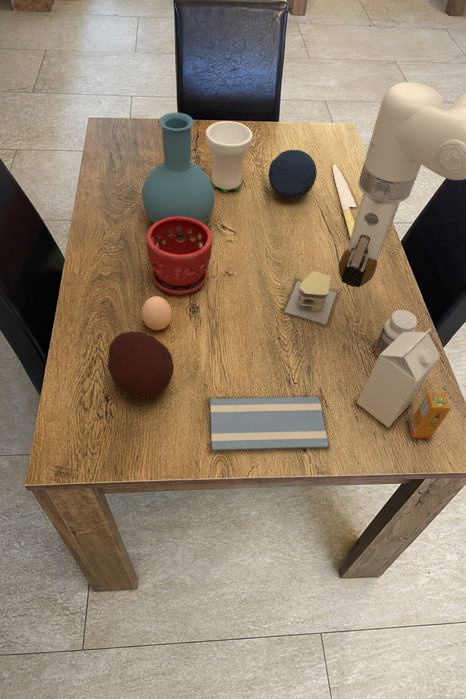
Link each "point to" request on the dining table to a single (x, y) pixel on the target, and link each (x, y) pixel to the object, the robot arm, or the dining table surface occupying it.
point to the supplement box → (429, 415)
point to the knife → (344, 198)
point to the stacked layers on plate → (312, 298)
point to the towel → (267, 423)
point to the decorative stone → (292, 174)
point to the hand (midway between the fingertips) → (356, 270)
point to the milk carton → (398, 376)
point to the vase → (177, 177)
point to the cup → (228, 152)
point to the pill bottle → (395, 329)
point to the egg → (156, 313)
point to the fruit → (369, 266)
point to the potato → (140, 364)
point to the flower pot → (179, 254)
